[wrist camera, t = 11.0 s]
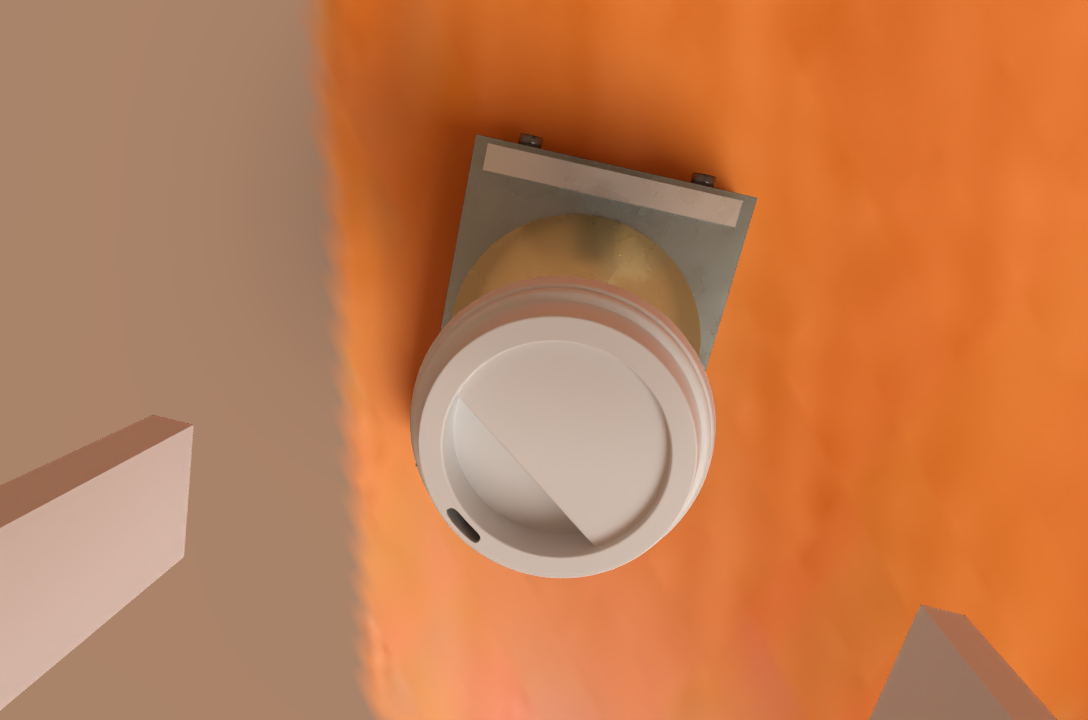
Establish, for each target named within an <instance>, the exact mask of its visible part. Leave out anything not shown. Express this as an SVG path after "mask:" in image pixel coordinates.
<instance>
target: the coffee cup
mask: <svg viewBox="0 0 1088 720" xmlns="http://www.w3.org/2000/svg"><path fill="white" fill-rule="evenodd" d="M715 430H716V418H715V407H714V400H713V395H712V391H711V387H710V384H709V380H708V377H707V375H706V372H705V370H704V367H703V365H702V363H701V361H700V359H699V357H698V355H697V354H696V352H695V350H694V349H693V347H692V346H691V344H690V343H689V341H688V340H687V338H686V337H685V336H684V335H683V333H682V332H681V331H680V330H679V329H678V328H677V326H676V325H675V324H674V323H673V322H672V321H671V320H670V319H669V318H667V317H666V316H665V315H664V314H663V313H662V312H660V311H659V310H658V309H657V308H655V307H654V306H653V305H651V304H650V303H648V302H647V301H645V300H643V299H642V298H640V297H638V296H637V295H635V294H633V293H631V292H629V291H627V290H624V289H622V288H620V287H617V286H614V285H611V284H608V283H605V282H602V281H598V280H594V279H588V278H582V277H574V276H545V277H536V278H530V279H525V280H521V281H517V282H514V283H511V284H508V285H505V286H502V287H500V288H497V289H495V290H493V291H491V292H489V293H487V294H485V295H483V296H481V297H480V298H478V299H477V300H475V301H473V302H472V303H471V304H469V305H468V306H466V307H465V308H464V309H463V310H461V311H460V312H459V313H458V314H457V315H456V316H455V317H454V318H452V320H451V321H450V322H449V323H448V324H447V325H446V326H445V327H444V328H443V329H442V331H441V332H440V333H439V335H438V336H437V337H436V339H435V340H434V342H433V343H432V345H431V346H430V348H429V350H428V352H427V353H426V355H425V358H424V360H423V362H422V364H421V367H420V369H419V372H418V375H417V378H416V382H415V386H414V391H413V396H412V403H411V413H410V432H411V441H412V447H413V452H414V457H415V460H416V464H417V467H418V470H419V473H420V476H421V478H422V481H423V483H424V485H425V487H426V489H427V491H428V493H429V495H430V497H431V499H432V501H433V503H434V505H435V506H436V508H437V510H438V511H439V513H440V514H441V516H442V517H443V519H444V520H445V521H446V523H447V524H448V525H449V526H450V527H451V529H452V530H453V531H454V532H455V533H456V534H457V535H458V536H459V537H460V538H461V539H462V540H463V541H464V542H466V543H467V544H468V545H469V546H470V547H472V548H473V549H474V550H476V551H477V552H479V553H480V554H482V555H483V556H485V557H487V558H488V559H490V560H492V561H494V562H496V563H498V564H500V565H502V566H505V567H507V568H510V569H512V570H515V571H519V572H522V573H526V574H530V575H535V576H541V577H549V578H576V577H584V576H590V575H595V574H599V573H603V572H606V571H609V570H612V569H614V568H617V567H619V566H622V565H624V564H626V563H628V562H630V561H632V560H633V559H635V558H637V557H638V556H640V555H641V554H643V553H644V552H646V551H647V550H648V549H650V548H651V547H652V546H653V545H654V544H656V543H657V542H658V541H659V540H661V539H662V538H663V537H664V536H665V535H667V534H668V533H669V532H670V531H671V530H672V529H673V528H674V527H675V526H676V524H677V523H678V522H679V521H680V520H681V519H682V517H683V516H684V515H685V514H686V512H687V511H688V510H689V508H690V507H691V505H692V504H693V502H694V501H695V499H696V497H697V495H698V494H699V492H700V490H701V487H702V485H703V483H704V481H705V478H706V475H707V472H708V469H709V466H710V462H711V458H712V453H713V448H714V442H715Z"/></svg>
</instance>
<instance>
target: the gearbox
mask: <svg viewBox="0 0 1088 720" xmlns="http://www.w3.org/2000/svg"><path fill="white" fill-rule="evenodd" d="M542 142H543V139H542V138H539V137H536V136H532V135H528V134H520V136H519V141H518V144H517V143H512V142H508V141H504V140H499V139H495V138H490V137H486V136H481V135H477V134H476V138H475V143H474V149H473V154H472V160H471V165H470V171H469V176H468V182H467V187H466V193H465V198H464V204H463V209H462V215H461V220H460V226H459V231H458V236H457V242H456V247H455V253H454V258H453V264H452V269H451V275H450V280H449V286H448V291H447V297H446V302H445V308H444V313H443V319H442V324H441V330H440V332H441V331H442V329H443V328H444V327H445V326H446V325H447V324H448V323H449V322H450V321H451V320H452V318H454V317H455V316H456V315H457V314H458V313H459V312H460V311H461V310H463V309H464V308H465V307H466V306H468V305H469V304H471V303H472V302H473V301H475V300H477V299H478V298H480V297H481V296H483V295H485V294H487V293H489V292H491V291H493V290H495V289H497V288H500V287H502V286H505V285H508V284H511V283H514V282H517V281H521V280H525V279H530V278H536V277H545V276H574V277H582V278H588V279H594V280H598V281H602V282H605V283H608V284H611V285H614V286H617V287H620V288H622V289H624V290H627V291H629V292H631V293H633V294H635V295H637V296H638V297H640V298H642V299H643V300H645V301H647V302H648V303H650V304H651V305H653V306H654V307H655V308H657V309H658V310H659V311H660V312H662V313H663V314H664V315H665V316H666V317H667V318H669V319H670V320H671V321H672V322H673V323H674V324H675V325H676V326H677V328H678V329H679V330H680V331H681V332H682V333H683V335H684V336H685V337H686V338H687V340H688V341H689V343H690V344H691V346H692V347H693V349H694V350H695V352H696V354H697V355H698V357H699V359H700V361H701V363H702V365H703V367H704V370H705V371H706V367H707V364H708V361H709V357H710V354H711V351H712V347H713V344H714V341H715V337H716V334H717V331H718V327H719V324H720V321H721V317H722V314H723V311H724V307H725V304H726V301H727V297H728V294H729V291H730V287H731V284H732V281H733V277H734V274H735V270H736V267H737V264H738V260H739V257H740V254H741V250H742V247H743V244H744V240H745V237H746V234H747V230H748V227H749V224H750V220H751V217H752V214H753V210H754V207H755V204H756V200H757V198H756V197H751V196H747V195H743V194H738V193H734V192H729V191H725V190H720V189H716V188H714V185H715V182H716V177H713V176H710V175H705V174H700V173H693V175H692V178H691V182H690V183H689V182H685V181H681V180H676V179H672V178H667V177H663V176H658V175H654V174H650V173H645V172H641V171H636V170H632V169H627V168H623V167H619V166H614V165H610V164H605V163H601V162H597V161H592V160H588V159H583V158H579V157H574V156H570V155H566V154H561V153H557V152H552V151H548V150H543V149H541V147H542ZM416 466H417V464H416Z"/></svg>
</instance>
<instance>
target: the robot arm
mask: <svg viewBox="0 0 1088 720" xmlns="http://www.w3.org/2000/svg"><path fill="white" fill-rule="evenodd" d="M192 439H193V424H189V423H184V422H180V421H176V420H172V419H168V418H164V417H160V416H156V415H151V416H149V417H147V418H145V419H143V420H141V421H138V422H136V423H134V424H132V425H130V426H128V427H126V428H123V429H121V430H119V431H117V432H115V433H113V434H110V435H108V436H106V437H104V438H102V439H100V440H98V441H95V442H93V443H91V444H89V445H87V446H85V447H82V448H80V449H78V450H76V451H74V452H72V453H69V454H67V455H65V456H63V457H61V458H59V459H57V460H54V461H52V462H50V463H48V464H46V465H44V466H41V467H39V468H37V469H35V470H33V471H31V472H28V473H26V474H25V475H22V476H20V477H18V478H16V479H14V480H11V481H9V482H7V483H5V484H3V485H0V710H1V709H2V708H3V707H5V706H6V705H7V704H8V703H10V702H11V701H12V700H13V699H14V698H16V697H17V696H18V695H19V694H20V693H22V692H23V691H24V690H25V689H26V688H28V687H29V686H30V685H31V684H32V683H34V682H35V681H36V680H37V679H38V678H40V677H41V676H42V675H43V674H44V673H46V672H47V671H48V670H49V669H50V668H51V667H52V666H54V665H55V664H56V663H57V662H59V661H60V660H61V659H62V658H63V657H65V656H66V655H67V654H68V653H69V652H71V651H72V650H73V649H74V648H75V647H76V646H78V645H79V644H80V643H81V642H83V641H84V640H85V639H86V638H87V637H89V636H90V635H91V634H92V633H93V632H94V631H95V630H96V629H98V628H99V627H100V626H102V625H103V624H104V623H105V622H106V621H108V620H109V619H110V618H111V617H112V616H114V615H115V614H116V613H117V612H118V611H120V610H121V609H122V608H123V607H124V606H126V605H127V604H128V603H129V602H130V601H132V600H133V599H134V598H135V597H136V596H137V595H139V594H140V593H141V592H142V591H143V590H145V589H146V588H147V587H148V586H149V585H151V584H152V583H153V582H154V581H155V580H157V579H158V578H159V577H160V576H161V575H163V574H164V573H165V572H166V571H167V570H169V569H170V568H171V567H172V566H173V565H174V564H176V563H177V562H178V561H179V560H181V559H182V558H183V557H184V548H185V533H186V520H187V507H188V492H189V479H190V466H191V452H192ZM869 720H1057V719H1056V718H1055V717H1054V715H1053V714H1052V713H1051V712H1050V711H1049V710H1048V709H1047V708H1046V706H1045V705H1044V704H1043V703H1042V702H1041V701H1040V700H1039V699H1038V697H1037V696H1036V695H1035V694H1034V693H1033V692H1032V691H1031V689H1030V688H1029V687H1028V686H1027V685H1026V684H1025V683H1024V682H1023V680H1022V679H1021V678H1020V677H1019V676H1018V675H1017V674H1016V672H1015V671H1014V670H1013V669H1012V668H1011V667H1010V666H1009V665H1008V663H1007V662H1006V661H1005V660H1004V659H1003V658H1002V657H1001V656H1000V654H999V653H998V652H997V651H996V650H995V649H994V648H993V646H992V645H991V644H990V643H989V642H988V641H987V640H986V639H985V637H984V636H983V635H982V634H981V633H980V632H979V631H978V629H977V628H976V627H975V626H974V625H973V624H972V623H971V622H970V620H969V619H968V618H967V617H966V616H965V615H961V614H957V613H953V612H949V611H945V610H941V609H937V608H933V607H929V606H925V605H920V607H919V610H918V612H917V614H916V616H915V618H914V621H913V623H912V625H911V627H910V630H909V632H908V634H907V636H906V639H905V641H904V643H903V645H902V648H901V650H900V652H899V654H898V657H897V659H896V661H895V663H894V666H893V668H892V670H891V672H890V675H889V677H888V679H887V681H886V684H885V686H884V688H883V690H882V693H881V695H880V697H879V699H878V701H877V704H876V706H875V708H874V710H873V713H872V715H871V717H870V719H869Z"/></svg>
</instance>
